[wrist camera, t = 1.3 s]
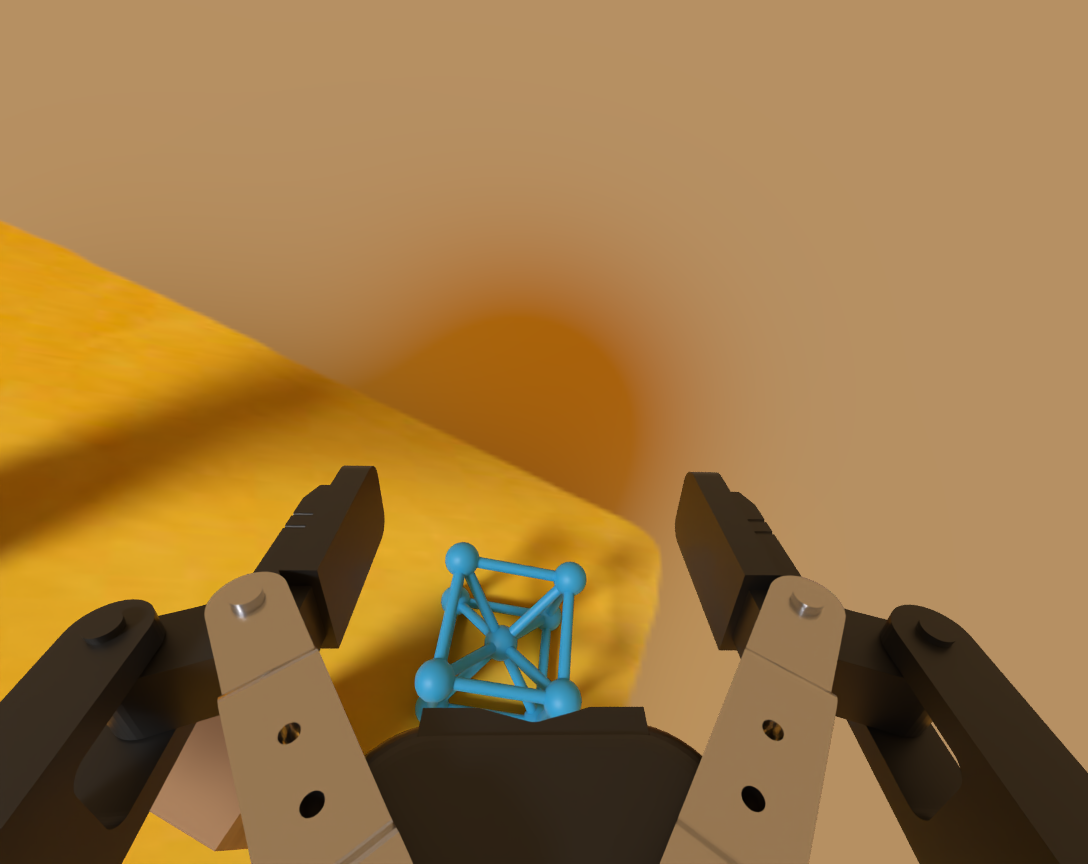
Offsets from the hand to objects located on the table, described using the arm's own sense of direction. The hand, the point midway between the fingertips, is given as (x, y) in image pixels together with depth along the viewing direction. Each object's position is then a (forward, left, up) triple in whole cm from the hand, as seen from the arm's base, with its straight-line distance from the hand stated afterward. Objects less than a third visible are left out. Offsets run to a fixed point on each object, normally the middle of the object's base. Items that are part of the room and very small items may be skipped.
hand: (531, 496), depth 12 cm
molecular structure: (+3, +3, -30) cm, 30 cm away
